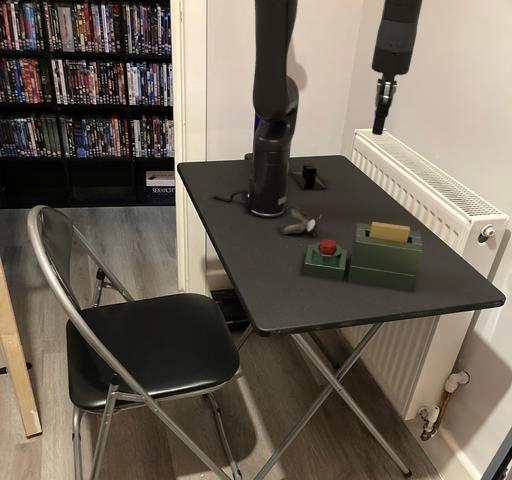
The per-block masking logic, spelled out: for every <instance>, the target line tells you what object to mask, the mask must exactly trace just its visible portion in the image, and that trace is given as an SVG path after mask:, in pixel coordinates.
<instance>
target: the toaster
mask: <svg viewBox="0 0 512 480" xmlns="http://www.w3.org/2000/svg"><path fill="white" fill-rule="evenodd" d="M371 225H372V224H367V223H360V222H356V226H355V230H354V236H353V241H352V245H351V251H350V256H349V261H348V272H347V282H348V283H354V284H362V285H367V286H374V287H381V288H387V289H393V290H401V291H406V292H407V291H408V292H412V289H413V286H414V283H415V280H416V276H417V273H418V268H419V265H420V261H421V258H422V254H423V244H422V236H421V231H415V230H410V233H409V236H408V240H407V243H406V242H399V241H392V240H385V239H378V238H372V237H369V235H370V230H371Z"/></svg>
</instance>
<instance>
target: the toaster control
mask: <svg viewBox="0 0 512 480" xmlns="http://www.w3.org/2000/svg"><path fill="white" fill-rule="evenodd" d="M320 242H321V241H318V242H315V243H313V244H310V243H309V244H307V249H306V253H305V258H304V262H303V270H302V276H309V277H316V278H320V279H321V278H322V279H328V280H335V281H340V282H343V281H344V278H345V271H346V263H347V255H348V249H344V248H342V247H341V245H339V244H337V243H336V250H335V252H334V253H324V252H322V251H320V250H319V247H320Z"/></svg>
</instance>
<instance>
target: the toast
mask: <svg viewBox="0 0 512 480" xmlns="http://www.w3.org/2000/svg"><path fill="white" fill-rule="evenodd" d="M370 225H371V230H370V235H369V237H372V238H378V239H385V240H392V241H399V242H406V243H407V240H408V236H409V233H410V231H411V227H410V226H407V225H398V224H393V223H385V222H377V221H372V222H371V224H370Z"/></svg>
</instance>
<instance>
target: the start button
mask: <svg viewBox="0 0 512 480" xmlns="http://www.w3.org/2000/svg"><path fill="white" fill-rule="evenodd" d="M319 242H320V247H319V250H320V251H322V252H324V253H334V252H335V250H336V244H337V242H336V241H335V240H333V239H328V238H327V239H325V238H324V239H321V240H320V241H319Z"/></svg>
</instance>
